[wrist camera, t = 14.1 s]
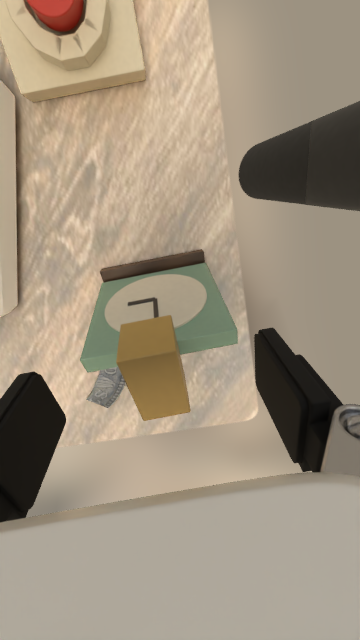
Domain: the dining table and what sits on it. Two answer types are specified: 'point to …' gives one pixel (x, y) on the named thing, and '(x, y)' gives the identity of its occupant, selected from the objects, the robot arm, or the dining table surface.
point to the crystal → (7, 203)
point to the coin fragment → (107, 387)
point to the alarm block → (72, 49)
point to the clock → (157, 333)
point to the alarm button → (58, 13)
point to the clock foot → (152, 265)
